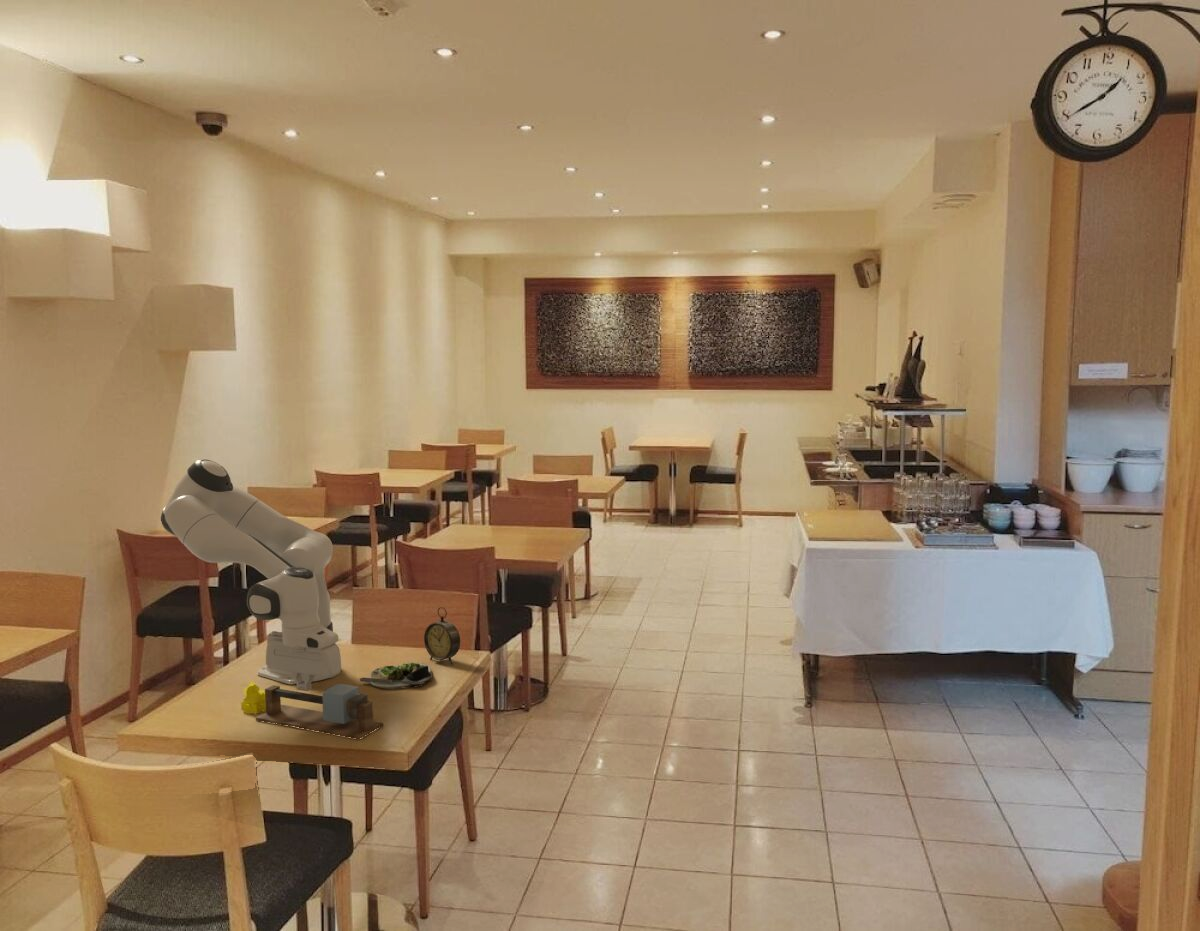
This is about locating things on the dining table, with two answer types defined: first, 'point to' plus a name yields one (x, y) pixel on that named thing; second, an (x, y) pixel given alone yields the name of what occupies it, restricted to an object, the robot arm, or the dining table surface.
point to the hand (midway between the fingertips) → (304, 689)
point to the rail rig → (319, 714)
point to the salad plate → (400, 676)
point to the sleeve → (338, 702)
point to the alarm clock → (442, 639)
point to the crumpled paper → (253, 699)
